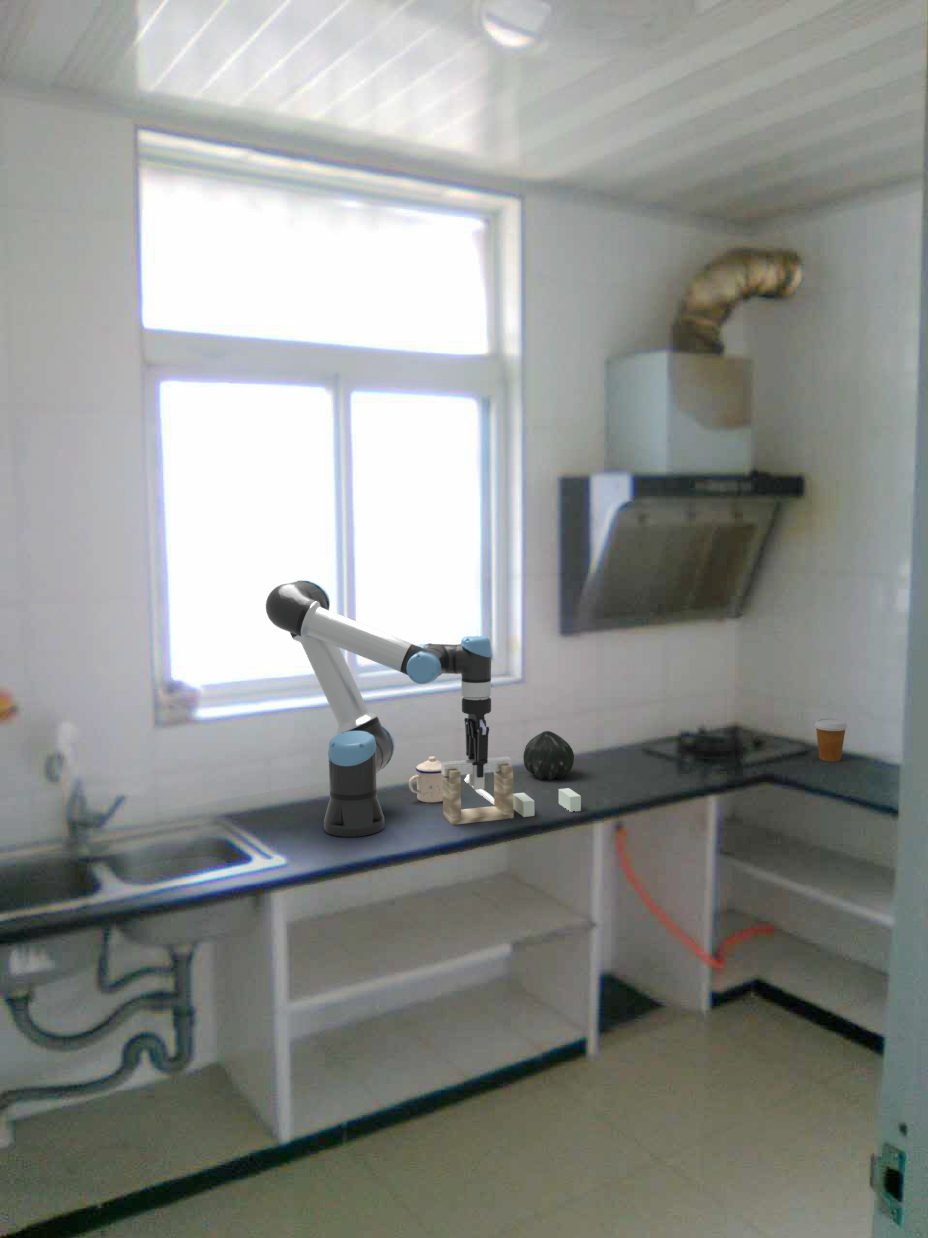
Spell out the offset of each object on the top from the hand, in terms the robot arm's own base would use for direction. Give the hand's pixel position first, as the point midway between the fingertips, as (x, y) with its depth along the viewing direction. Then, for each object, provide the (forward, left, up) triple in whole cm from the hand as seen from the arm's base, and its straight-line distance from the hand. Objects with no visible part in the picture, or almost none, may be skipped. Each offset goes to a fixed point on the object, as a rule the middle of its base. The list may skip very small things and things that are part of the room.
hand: (476, 787), depth 255 cm
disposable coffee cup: (+122, +20, -8) cm, 124 cm away
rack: (0, 0, -8) cm, 8 cm away
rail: (0, 0, +4) cm, 4 cm away
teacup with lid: (-8, +20, -8) cm, 23 cm away
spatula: (+9, +21, -9) cm, 24 cm away
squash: (+32, +31, -8) cm, 45 cm away
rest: (+19, 0, -8) cm, 21 cm away
